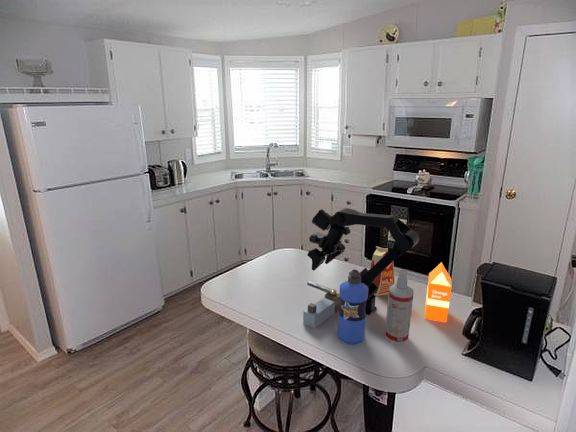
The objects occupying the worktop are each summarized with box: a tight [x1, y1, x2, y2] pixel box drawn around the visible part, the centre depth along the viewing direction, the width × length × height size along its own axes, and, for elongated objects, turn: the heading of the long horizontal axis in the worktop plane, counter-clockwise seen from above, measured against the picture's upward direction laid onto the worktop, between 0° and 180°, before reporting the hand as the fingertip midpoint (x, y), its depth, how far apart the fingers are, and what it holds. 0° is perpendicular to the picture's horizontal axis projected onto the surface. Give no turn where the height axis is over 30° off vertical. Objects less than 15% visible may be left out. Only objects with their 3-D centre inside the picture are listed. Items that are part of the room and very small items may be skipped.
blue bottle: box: [337, 269, 368, 346], centre depth 125 cm, size 9×9×25 cm
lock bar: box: [306, 280, 337, 296], centre depth 147 cm, size 13×2×2 cm, turn 50°
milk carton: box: [369, 246, 396, 297], centre depth 158 cm, size 9×9×20 cm
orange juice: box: [424, 261, 453, 323], centre depth 139 cm, size 8×9×20 cm
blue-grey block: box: [302, 296, 335, 329], centre depth 139 cm, size 5×13×8 cm, turn 140°
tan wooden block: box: [324, 292, 341, 314], centre depth 145 cm, size 5×4×6 cm
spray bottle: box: [384, 269, 415, 345], centre depth 125 cm, size 8×8×25 cm
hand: (319, 266), depth 154 cm, fingers open, 9 cm apart
